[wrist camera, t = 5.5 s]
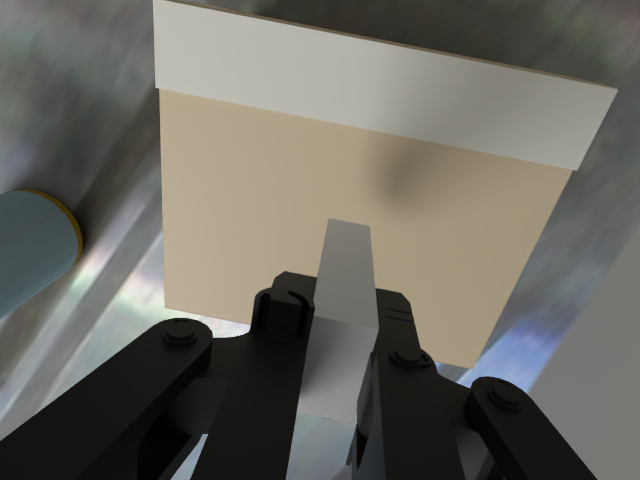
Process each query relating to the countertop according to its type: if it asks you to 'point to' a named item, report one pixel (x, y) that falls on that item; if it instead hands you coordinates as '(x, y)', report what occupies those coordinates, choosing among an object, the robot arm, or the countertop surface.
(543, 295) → the countertop surface
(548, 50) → the countertop surface
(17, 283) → the bottle
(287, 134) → the flap
